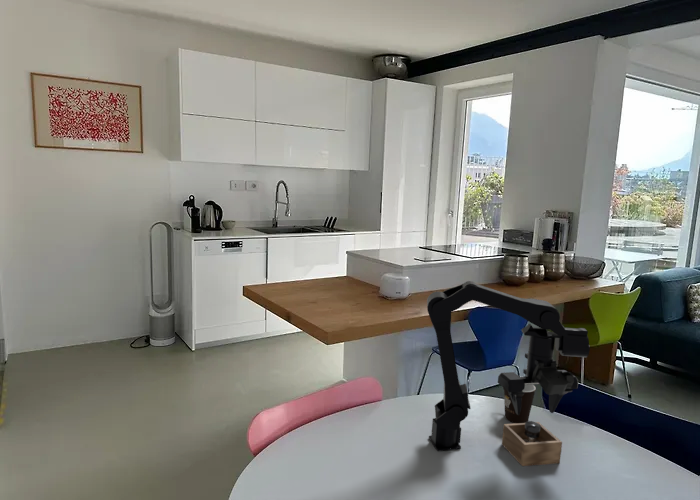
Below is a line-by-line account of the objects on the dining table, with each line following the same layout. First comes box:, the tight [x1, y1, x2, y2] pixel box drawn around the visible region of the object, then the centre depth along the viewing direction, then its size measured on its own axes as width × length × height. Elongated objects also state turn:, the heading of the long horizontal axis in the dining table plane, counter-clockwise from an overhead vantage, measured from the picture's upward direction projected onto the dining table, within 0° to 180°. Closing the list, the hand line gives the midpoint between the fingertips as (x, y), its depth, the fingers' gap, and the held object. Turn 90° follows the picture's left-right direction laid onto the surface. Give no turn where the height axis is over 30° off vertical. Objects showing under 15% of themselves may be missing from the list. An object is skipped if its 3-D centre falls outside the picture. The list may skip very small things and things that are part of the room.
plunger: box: [523, 420, 541, 443], centre depth 124 cm, size 7×7×7 cm
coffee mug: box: [502, 385, 537, 424], centre depth 144 cm, size 12×9×10 cm
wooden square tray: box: [501, 421, 563, 467], centre depth 125 cm, size 10×10×6 cm
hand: (534, 413), depth 123 cm, fingers open, 9 cm apart
